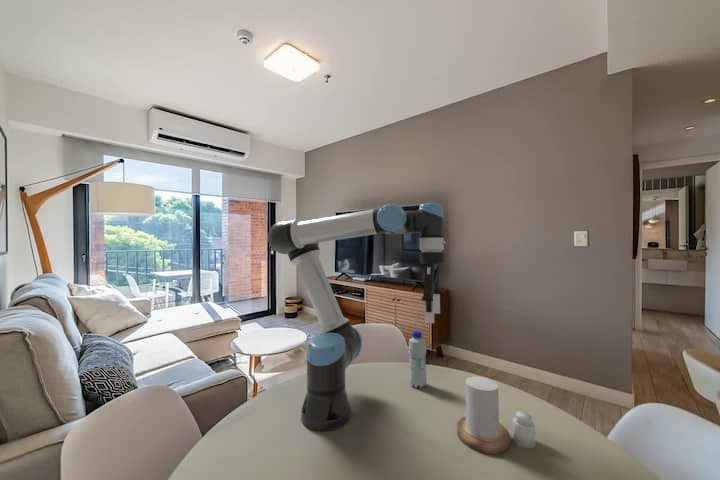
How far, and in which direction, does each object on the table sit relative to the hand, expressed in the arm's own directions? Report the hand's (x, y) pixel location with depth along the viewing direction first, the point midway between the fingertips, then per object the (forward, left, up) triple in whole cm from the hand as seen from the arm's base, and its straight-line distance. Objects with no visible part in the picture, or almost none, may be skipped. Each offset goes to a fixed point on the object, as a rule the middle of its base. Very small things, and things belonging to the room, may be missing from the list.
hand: (432, 317), depth 91 cm
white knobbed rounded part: (+24, -7, -29) cm, 38 cm away
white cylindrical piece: (+14, -9, -27) cm, 31 cm away
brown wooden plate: (+14, -9, -29) cm, 33 cm away
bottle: (-8, +14, -29) cm, 33 cm away
